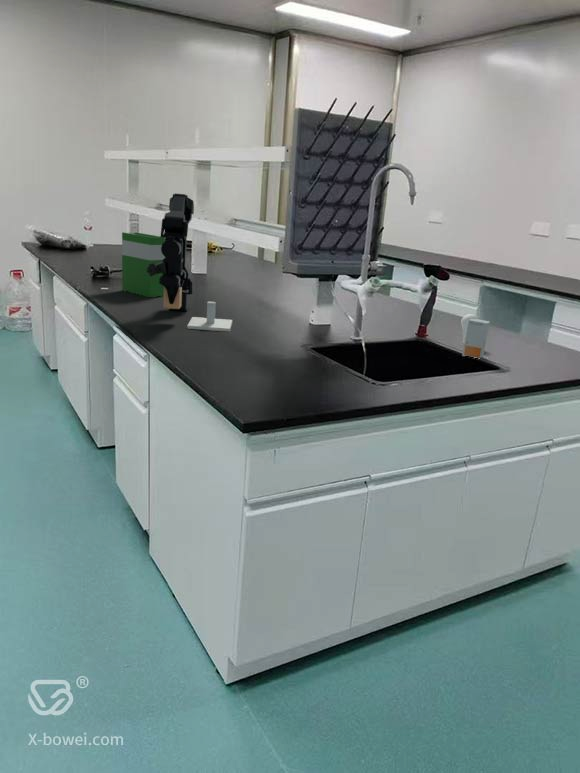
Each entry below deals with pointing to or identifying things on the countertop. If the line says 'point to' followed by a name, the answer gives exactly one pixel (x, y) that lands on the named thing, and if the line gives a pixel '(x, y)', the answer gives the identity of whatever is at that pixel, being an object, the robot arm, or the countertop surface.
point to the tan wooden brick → (176, 302)
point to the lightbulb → (466, 324)
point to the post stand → (210, 321)
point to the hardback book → (141, 263)
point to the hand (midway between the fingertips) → (172, 302)
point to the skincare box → (476, 338)
